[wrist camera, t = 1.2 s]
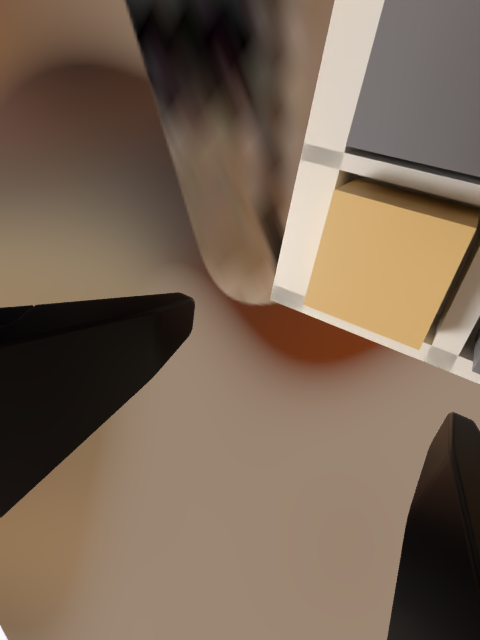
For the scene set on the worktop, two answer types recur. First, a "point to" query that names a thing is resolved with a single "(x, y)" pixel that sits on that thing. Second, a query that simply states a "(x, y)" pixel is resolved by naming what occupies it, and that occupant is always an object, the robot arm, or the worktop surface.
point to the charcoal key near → (423, 85)
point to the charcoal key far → (476, 354)
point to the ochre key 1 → (388, 259)
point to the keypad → (351, 163)
